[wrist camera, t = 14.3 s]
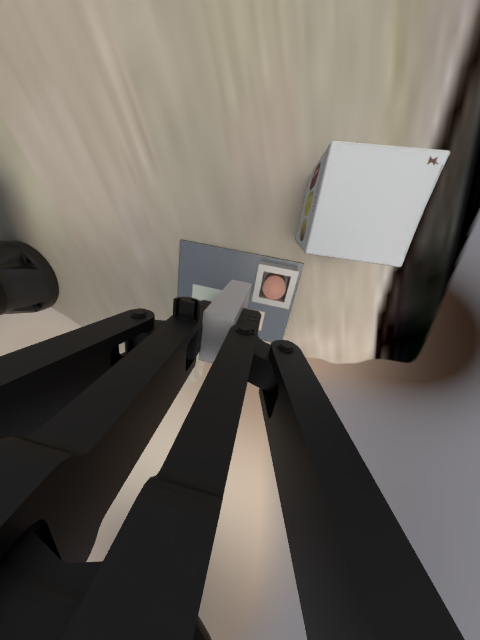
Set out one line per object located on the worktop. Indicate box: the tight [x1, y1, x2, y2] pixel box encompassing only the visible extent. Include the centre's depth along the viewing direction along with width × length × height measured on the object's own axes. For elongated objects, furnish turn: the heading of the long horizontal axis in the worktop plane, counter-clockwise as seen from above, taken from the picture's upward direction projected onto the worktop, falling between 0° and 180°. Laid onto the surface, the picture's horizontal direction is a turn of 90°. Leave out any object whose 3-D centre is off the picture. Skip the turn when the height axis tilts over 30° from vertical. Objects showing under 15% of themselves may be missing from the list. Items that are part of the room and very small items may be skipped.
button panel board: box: [177, 240, 303, 342], centre depth 40 cm, size 22×16×4 cm
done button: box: [263, 273, 286, 300], centre depth 37 cm, size 4×4×4 cm
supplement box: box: [295, 141, 450, 267], centre depth 27 cm, size 10×9×17 cm
